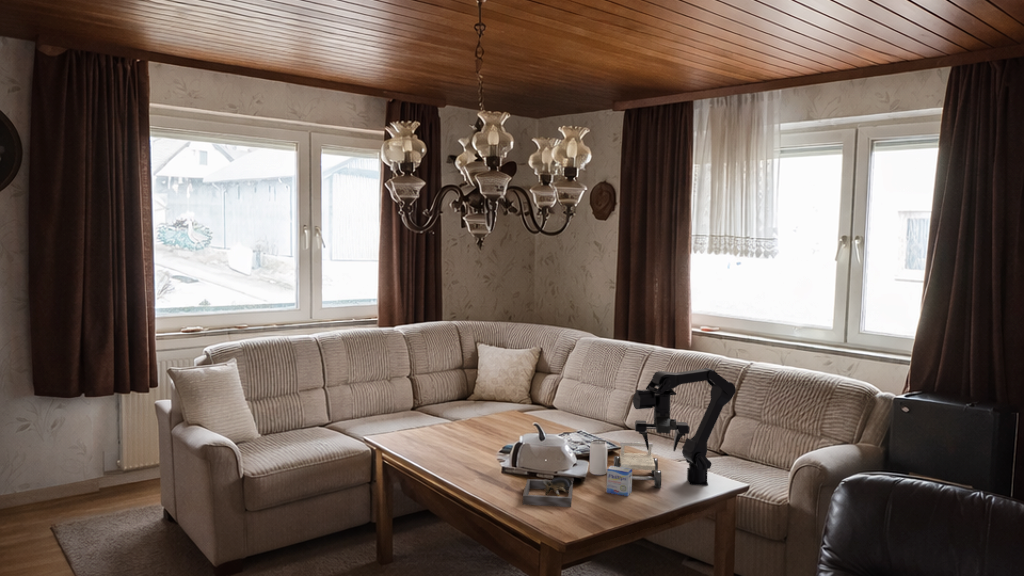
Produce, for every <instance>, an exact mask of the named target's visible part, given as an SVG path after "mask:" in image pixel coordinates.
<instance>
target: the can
mask: <svg viewBox="0 0 1024 576" xmlns="http://www.w3.org/2000/svg"><path fill="white" fill-rule="evenodd" d="M590 442H591V443H590V445H589V473H590V474H591V475H593V476H604V475H607V469H608V444H607V441H606V440H604V439H592V440H591V441H590Z"/></svg>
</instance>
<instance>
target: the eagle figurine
mask: <svg viewBox="0 0 1024 576" xmlns="http://www.w3.org/2000/svg"><path fill="white" fill-rule="evenodd" d="M542 480H543V483H544V485H545V487H546V489H545V488H544V489H543V490H544V491H545V496H548V494H550V492H551V491H552V492H554V493H555V494H556V495H557V496H560V492H559V491H562V492H565V493H567V494H569V491H568V490H565V489H564V488H563V487H570V486H571V485H572V480H571V479H570V477H566V476H563V475H562V476H558V477H553V478H552V481H551V483H550V482H549V481H548V480H549V479H542Z"/></svg>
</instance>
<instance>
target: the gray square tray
mask: <svg viewBox="0 0 1024 576" xmlns="http://www.w3.org/2000/svg"><path fill="white" fill-rule="evenodd" d="M543 480H544V479H529V478H527V479H526V483H525V487H524V490H523V495H522V505H526V506H527V505H529V506H546V507H560V508H561V507H562V508H572V499H573V487H574V484H573V483H574V481H572V480H571V481H572V485H571V486H570V487H563V488H564V489H565V490H566V491H568V492H569V493H568V495H567V496H560V495H559V496H558V495H557V496H555V495H539V494H536V495H535V494H529V492H530V489H531V490H534V489H535V490H545V489H546V487H545V485H544V483H543ZM547 480H548V481H549V482H550V483H551V481H552V480H553V479H552V480H551V479H550V480H549V479H547ZM544 488H545V489H544Z"/></svg>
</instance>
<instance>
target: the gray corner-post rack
mask: <svg viewBox="0 0 1024 576" xmlns="http://www.w3.org/2000/svg"><path fill="white" fill-rule="evenodd" d="M648 444H649V450H647V453H643V452H642V453H639V452H625V447H643V448H647V447H646V443H645V442H638V441H637V442H636V441H619V446H620V452H619V455H614V456H613V466H616V467H622V468H628V469H632V470H636V471H639V470H641V471H642V470H643V471H650V472H651V475H654V476H648V475H647V476H645V475H632V480H637V481H638V480H642V481H653V482H654V488H662V471H661V469H659V461H658V459H659V458H658V457H654V456H653V453H652V448H653V446H654V445H653V442H648Z"/></svg>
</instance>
